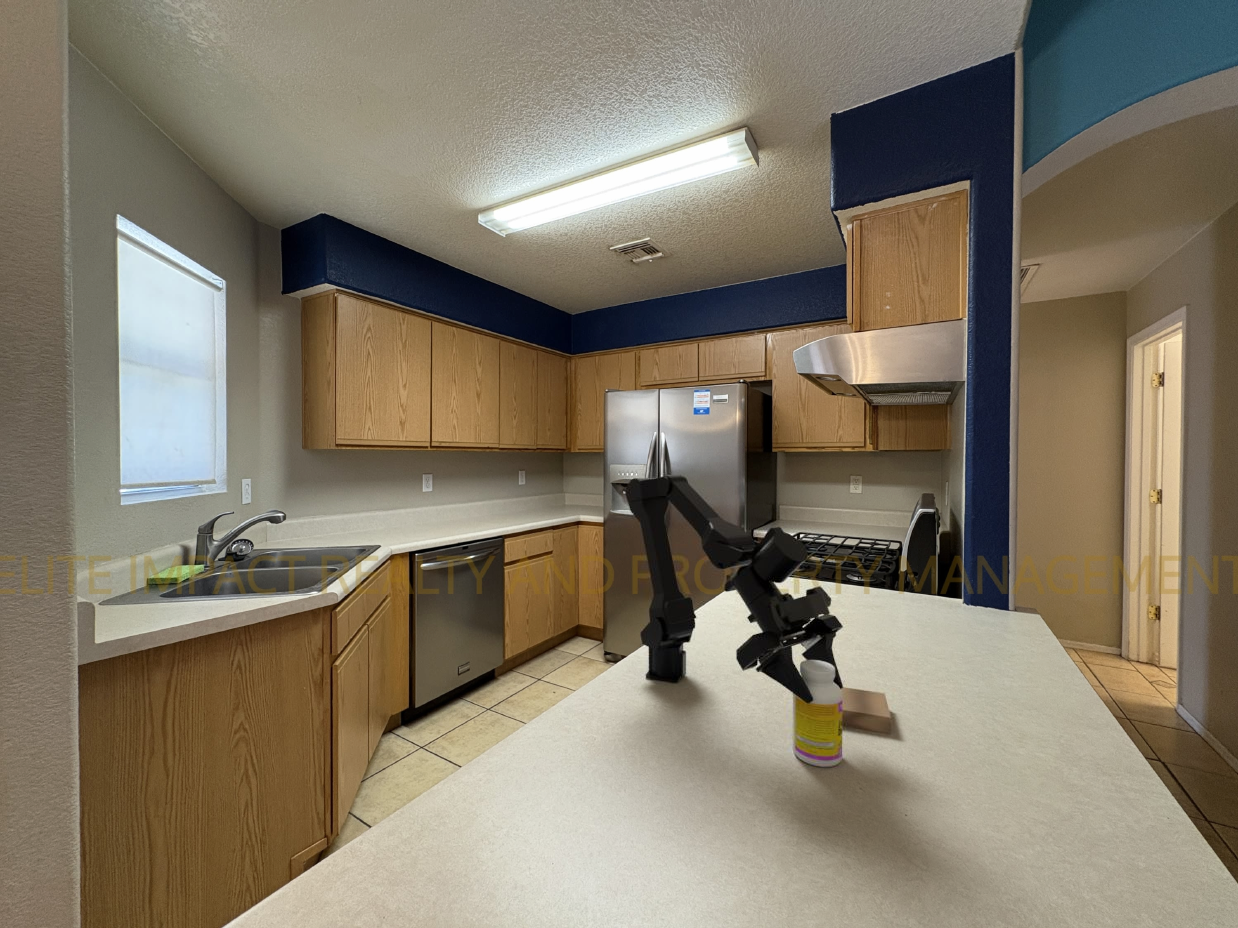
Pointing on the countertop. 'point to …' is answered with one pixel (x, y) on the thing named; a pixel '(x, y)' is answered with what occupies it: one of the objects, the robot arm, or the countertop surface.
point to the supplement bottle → (818, 716)
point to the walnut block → (865, 710)
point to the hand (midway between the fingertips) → (826, 695)
